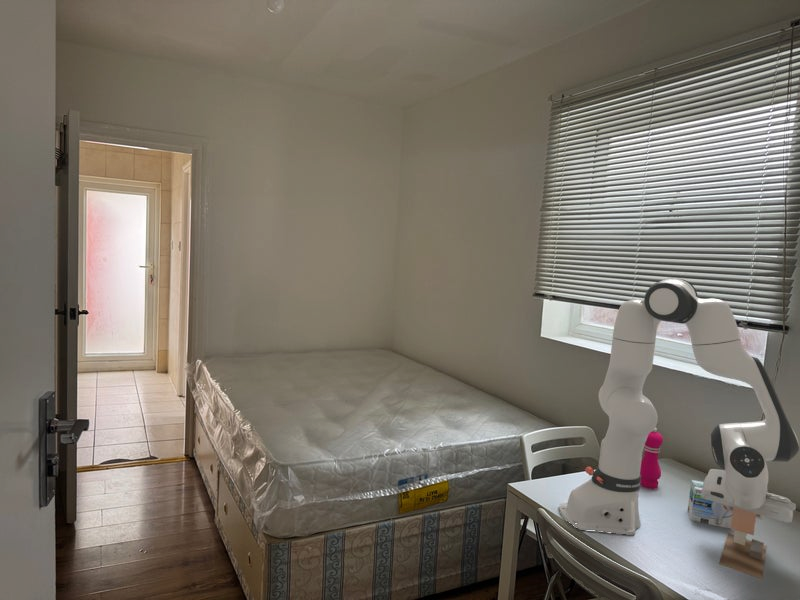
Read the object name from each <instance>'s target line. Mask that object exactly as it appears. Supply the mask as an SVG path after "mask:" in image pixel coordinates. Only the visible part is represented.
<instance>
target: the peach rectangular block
mask: <svg viewBox="0 0 800 600" xmlns="http://www.w3.org/2000/svg"><path fill="white" fill-rule="evenodd" d="M756 524H757V518H756V514H755V513H752V512H748V511H745V510H741V509H738V508H734V507H733V513H732V521H731V530H734V531H735V530H737V531H741V532H744V533H747V534H748V535H750V536H755V531H756Z"/></svg>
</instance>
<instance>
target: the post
mask: <svg viewBox="0 0 800 600" xmlns="http://www.w3.org/2000/svg"><path fill="white" fill-rule="evenodd" d="M733 535H734V541H733V542H735V543H738V544H741V545H744V546H745V542H746V539H747V533H744V532H741V531H737V530H734V534H733Z"/></svg>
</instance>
